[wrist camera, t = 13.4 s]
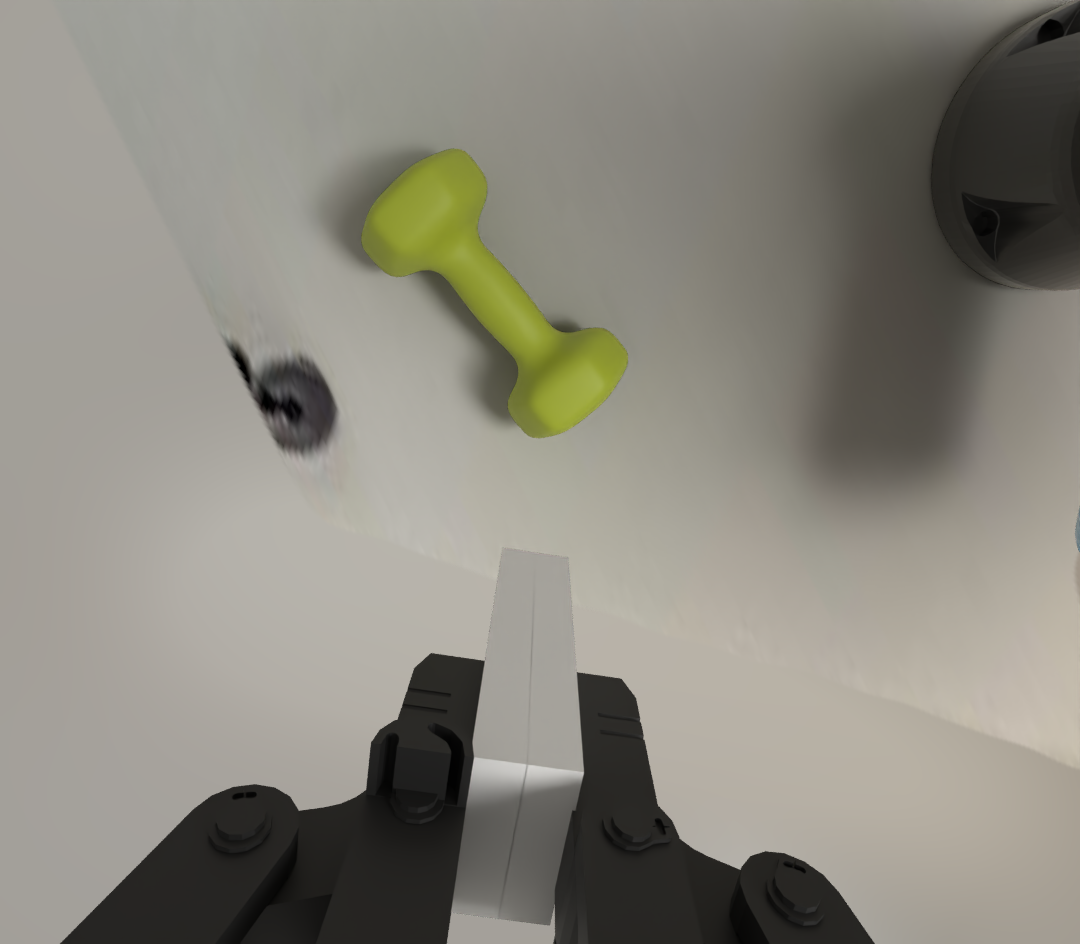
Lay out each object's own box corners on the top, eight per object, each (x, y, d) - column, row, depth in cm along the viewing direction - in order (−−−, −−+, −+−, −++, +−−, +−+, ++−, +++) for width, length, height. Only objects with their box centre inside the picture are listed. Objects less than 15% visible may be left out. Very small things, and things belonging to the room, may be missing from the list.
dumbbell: (365, 234, 41) (328, 229, 34) (462, 142, 39) (444, 118, 32) (537, 435, 44) (535, 467, 38) (632, 358, 43) (648, 377, 36)
